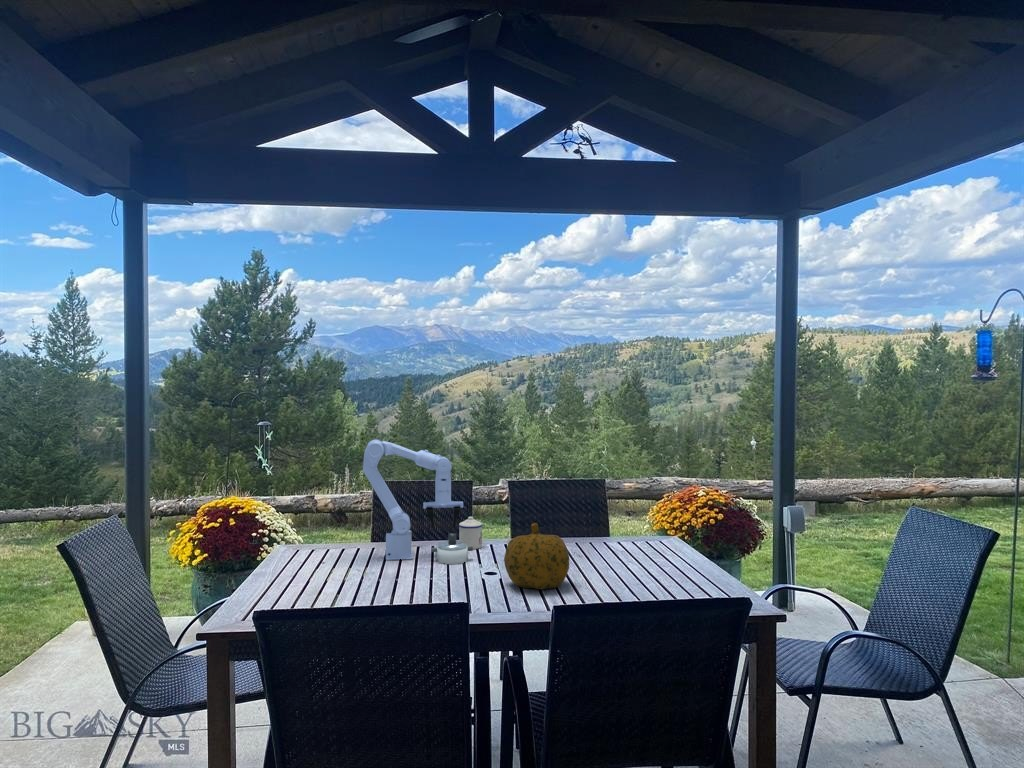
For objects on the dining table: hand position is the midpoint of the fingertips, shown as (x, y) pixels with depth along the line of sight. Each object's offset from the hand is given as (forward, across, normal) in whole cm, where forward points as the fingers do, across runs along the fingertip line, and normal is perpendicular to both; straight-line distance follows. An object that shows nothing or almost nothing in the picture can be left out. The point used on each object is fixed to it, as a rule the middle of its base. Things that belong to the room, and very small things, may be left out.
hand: (443, 527), depth 267 cm
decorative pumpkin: (+11, +29, -42) cm, 52 cm away
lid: (+5, +3, -8) cm, 10 cm away
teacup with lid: (+11, +10, +14) cm, 20 cm away
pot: (+10, +3, -7) cm, 13 cm away
